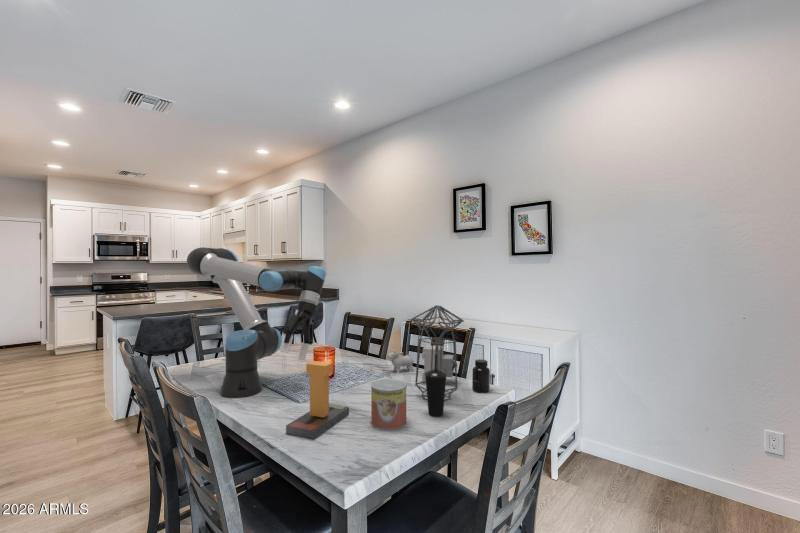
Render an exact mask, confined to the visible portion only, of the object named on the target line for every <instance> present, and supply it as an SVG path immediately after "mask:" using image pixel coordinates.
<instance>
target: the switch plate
mask: <svg viewBox="0 0 800 533" xmlns="http://www.w3.org/2000/svg"><path fill="white" fill-rule="evenodd" d="M349 415H350V407H349V406H346V405H339V404H335V403H334V404H333V403H329V414H328V415H327V416H325V417H324V418H323V417H317V416H311V415H310V410H309V411H308V412H306V413H305V414H303V415H301V416H300V417H298V418H296V419H294V420H293V421H291V422H290V423H288V424H286V425H285V434H286V435H290V436H295V437H299V438H303V439H304V438H305V439H310V440H316V439H318V438H319V437H320V436H322V435H323V434H324V433H326V432H327V431H328V430H330V429H331V428H333V427H334V426H335V425H337V424H338V423H340V422H341V421H342V420H343V419H345V418H346V417H348V416H349Z"/></svg>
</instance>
